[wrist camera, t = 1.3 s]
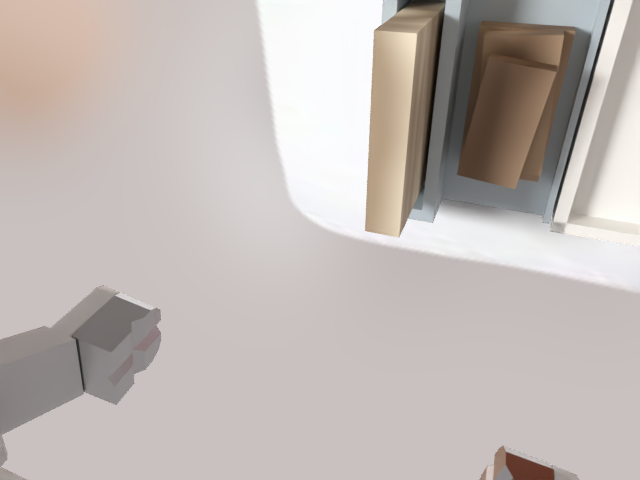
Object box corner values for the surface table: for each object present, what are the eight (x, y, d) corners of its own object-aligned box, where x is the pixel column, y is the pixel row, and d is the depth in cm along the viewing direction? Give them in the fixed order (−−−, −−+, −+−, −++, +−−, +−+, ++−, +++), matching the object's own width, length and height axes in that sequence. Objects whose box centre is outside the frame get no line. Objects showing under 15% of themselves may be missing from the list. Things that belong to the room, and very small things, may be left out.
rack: (616, -36, 28) (624, -25, 24) (549, 209, 36) (548, 243, 32) (394, -42, 31) (373, -34, 28) (380, 182, 40) (363, 210, 36)
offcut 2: (556, 65, 28) (556, 72, 27) (516, 179, 32) (515, 189, 31) (490, 53, 29) (488, 59, 28) (459, 166, 33) (456, 174, 32)
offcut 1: (574, 26, 29) (575, 31, 28) (538, 173, 34) (538, 181, 33) (482, 20, 30) (479, 25, 29) (460, 162, 35) (457, 170, 34)
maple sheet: (449, 0, 30) (417, 33, 23) (429, 171, 37) (399, 237, 30) (415, -2, 31) (374, 30, 24) (401, 166, 37) (365, 230, 30)
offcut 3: (563, 30, 28) (564, 35, 27) (541, 166, 32) (540, 175, 31) (486, 30, 29) (483, 35, 28) (474, 161, 34) (472, 169, 33)
